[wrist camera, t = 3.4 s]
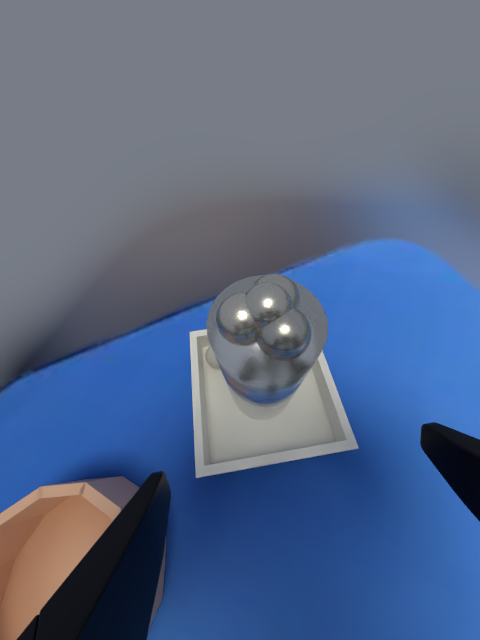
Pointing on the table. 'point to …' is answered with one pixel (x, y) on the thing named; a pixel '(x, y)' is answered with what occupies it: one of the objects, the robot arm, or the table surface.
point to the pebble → (211, 358)
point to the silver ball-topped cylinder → (266, 340)
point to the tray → (263, 435)
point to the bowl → (54, 543)
